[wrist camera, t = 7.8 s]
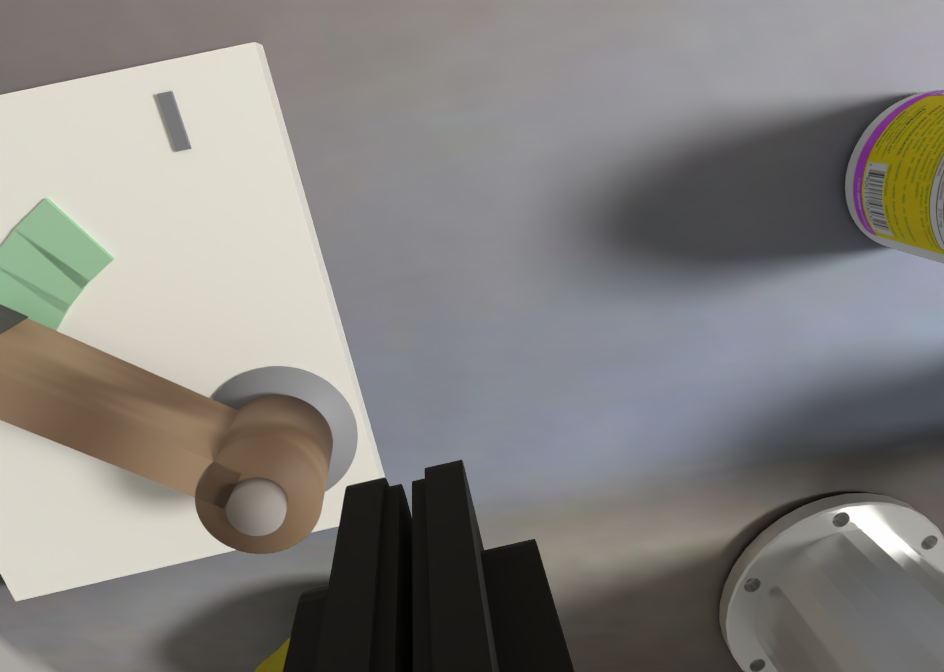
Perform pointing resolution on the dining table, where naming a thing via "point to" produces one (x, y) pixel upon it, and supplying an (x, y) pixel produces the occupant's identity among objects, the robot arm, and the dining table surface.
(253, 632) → the dining table surface
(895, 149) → the supplement bottle
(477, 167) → the dining table surface
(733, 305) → the dining table surface
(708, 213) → the dining table surface
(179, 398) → the walnut dial lever
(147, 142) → the dial plate
